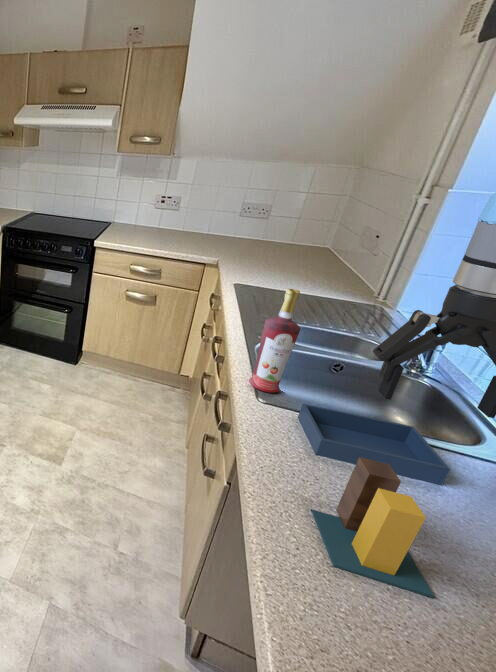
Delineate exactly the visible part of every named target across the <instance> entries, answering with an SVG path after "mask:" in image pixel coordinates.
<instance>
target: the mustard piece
mask: <svg viewBox="0 0 496 672" xmlns="http://www.w3.org/2000/svg"><path fill="white" fill-rule="evenodd" d="M426 519H427V517H426V516H425V514H424V512H423V511H422V510H421V508H420V506H419V505H418V504H417V503H416V501H415V499H414V498H413V497H412V496H411V495H407V494H403V493H399V492H397V491H396V492H392V491H388V490H384V489H380V488H378V490H377V492H376V494H375V496H374V498H373V500H372V502H371V504H370V506H369V508H368V510H367V513H366V515H365V517H364V519H363V521H362V523H361V525H360V527H359V529H358V531H357V533H356V536H355V538H354V540H353V542H352V545H353V547H354V550H355V552H356V554H357V556H358V558H359V560H360V563H361V565H362V566H365V567H368V568H371V569H375V570H378V571H381V572H384V573H388V574H391V575H395V573H396V572H397V570H398V568H399V566H400V564H401V563H402V561H403V559H404V557H405V555H406V553H407V552H409V550H410V548H411V546H412V544H413V543H414V541H415V539H416V537H417V535H418V534H419V532H420V531H421V528H422V526H423V525H424V522H425V521H426Z"/></svg>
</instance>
